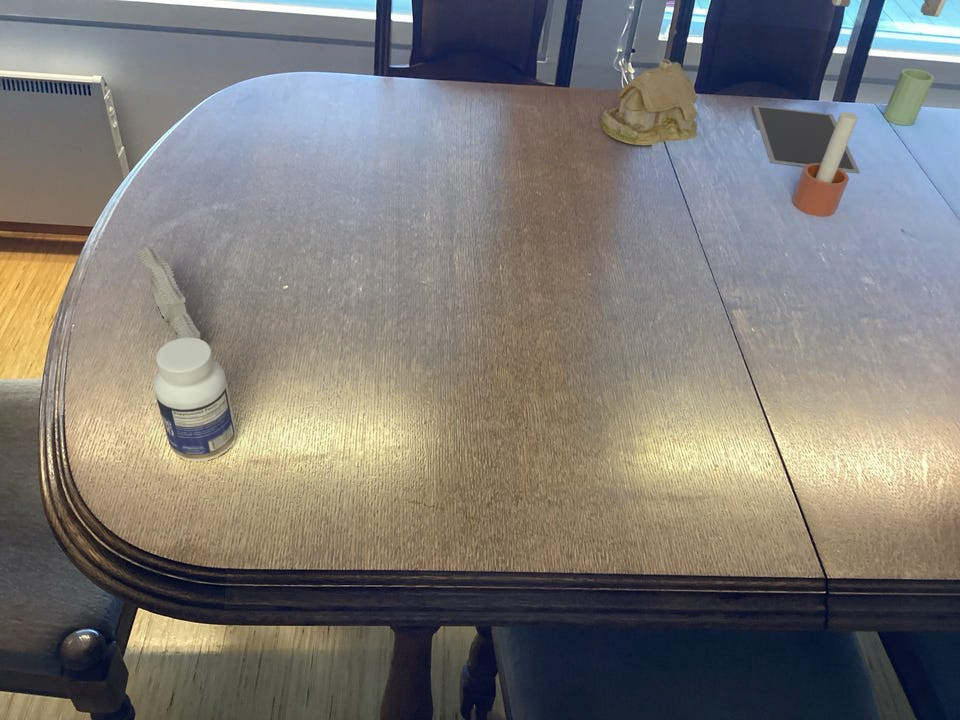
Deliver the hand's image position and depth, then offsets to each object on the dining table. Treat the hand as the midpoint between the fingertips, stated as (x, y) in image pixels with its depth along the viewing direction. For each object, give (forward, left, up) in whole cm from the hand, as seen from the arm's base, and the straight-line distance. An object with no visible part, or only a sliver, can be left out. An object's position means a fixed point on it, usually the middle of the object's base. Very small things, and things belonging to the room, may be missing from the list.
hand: (884, 9), depth 87 cm
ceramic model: (+19, -17, -25) cm, 36 cm away
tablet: (-3, -19, -25) cm, 31 cm away
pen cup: (-20, -31, -25) cm, 44 cm away
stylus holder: (-1, 0, -25) cm, 25 cm away
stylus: (-1, 0, -24) cm, 24 cm away
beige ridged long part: (+67, +37, -25) cm, 81 cm away
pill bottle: (+59, +51, -25) cm, 82 cm away
